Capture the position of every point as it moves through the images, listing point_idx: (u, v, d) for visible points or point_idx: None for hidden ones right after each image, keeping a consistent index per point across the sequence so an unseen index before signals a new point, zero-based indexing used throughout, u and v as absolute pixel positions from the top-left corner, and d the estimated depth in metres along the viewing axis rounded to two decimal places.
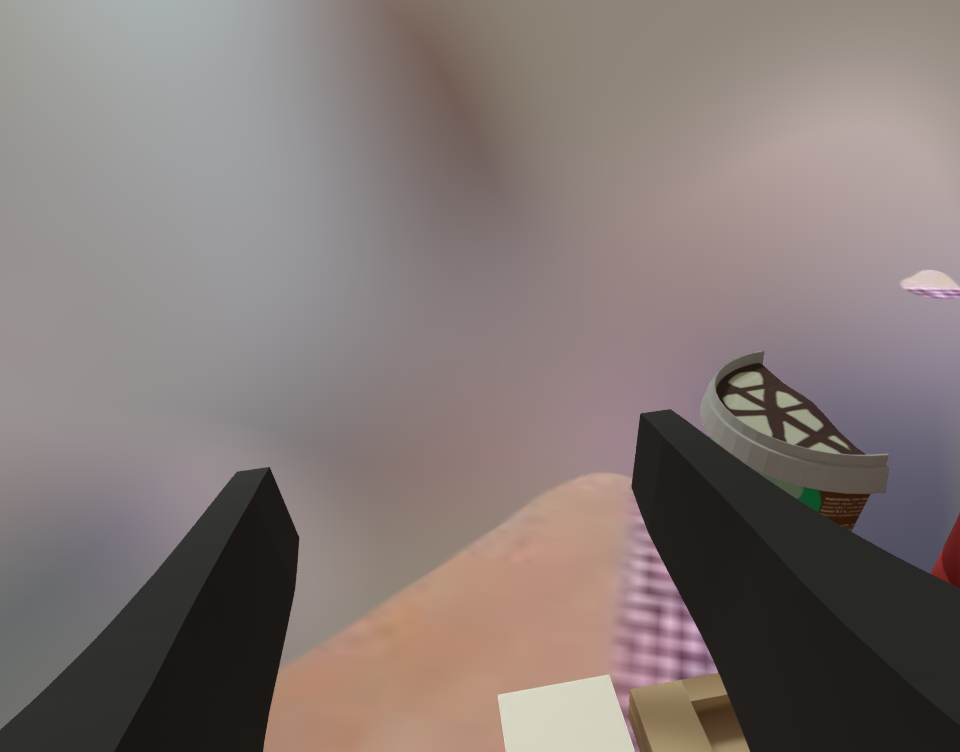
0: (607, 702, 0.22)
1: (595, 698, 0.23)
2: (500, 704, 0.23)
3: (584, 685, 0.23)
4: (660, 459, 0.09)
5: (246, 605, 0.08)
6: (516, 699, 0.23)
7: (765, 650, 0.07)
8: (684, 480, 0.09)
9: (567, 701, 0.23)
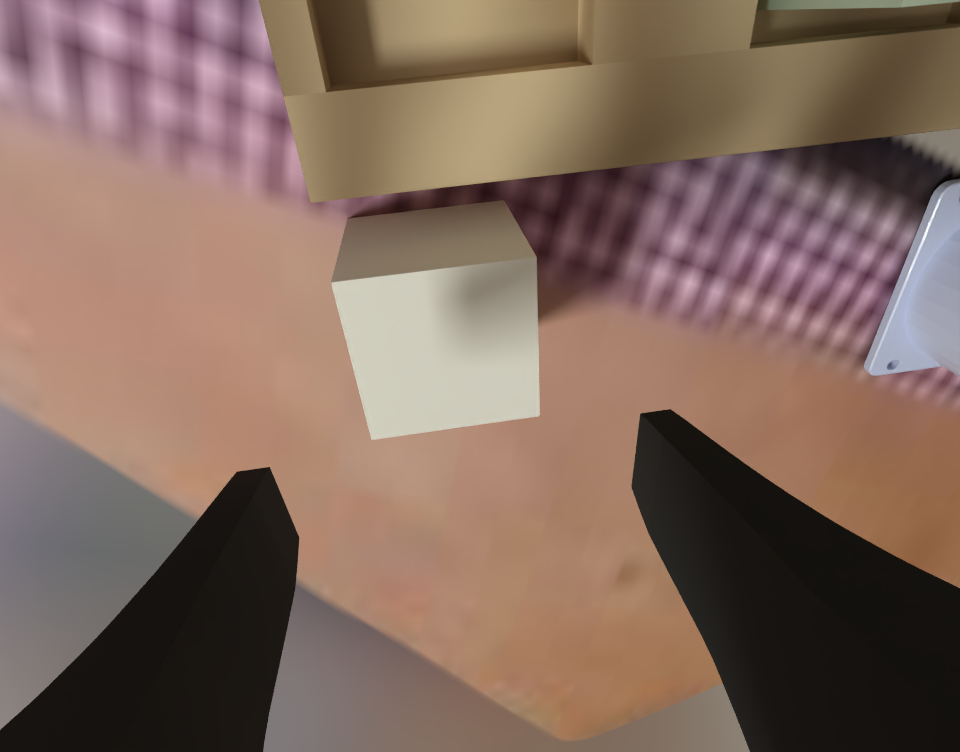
0: (381, 294, 0.13)
1: (375, 310, 0.13)
2: (385, 436, 0.15)
3: (353, 324, 0.13)
4: (660, 459, 0.09)
5: (246, 605, 0.08)
6: (378, 417, 0.15)
7: (765, 650, 0.07)
8: (684, 480, 0.09)
9: (380, 352, 0.14)
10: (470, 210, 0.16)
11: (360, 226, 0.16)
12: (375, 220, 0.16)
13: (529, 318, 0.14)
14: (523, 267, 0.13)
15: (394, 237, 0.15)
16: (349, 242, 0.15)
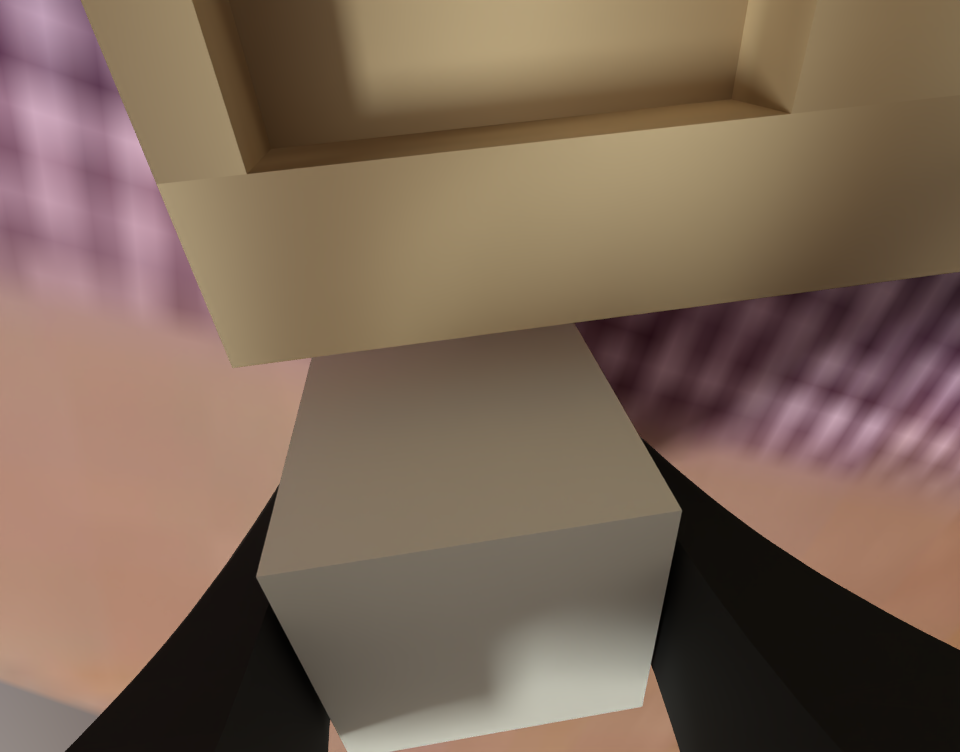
0: (363, 584, 0.06)
1: (351, 609, 0.07)
2: None
3: (307, 631, 0.07)
4: None
5: None
6: (361, 734, 0.08)
7: (691, 663, 0.07)
8: None
9: (363, 660, 0.07)
10: (519, 342, 0.10)
11: (333, 377, 0.09)
12: (359, 361, 0.10)
13: (649, 596, 0.07)
14: (652, 527, 0.06)
15: (390, 415, 0.08)
16: (309, 425, 0.08)
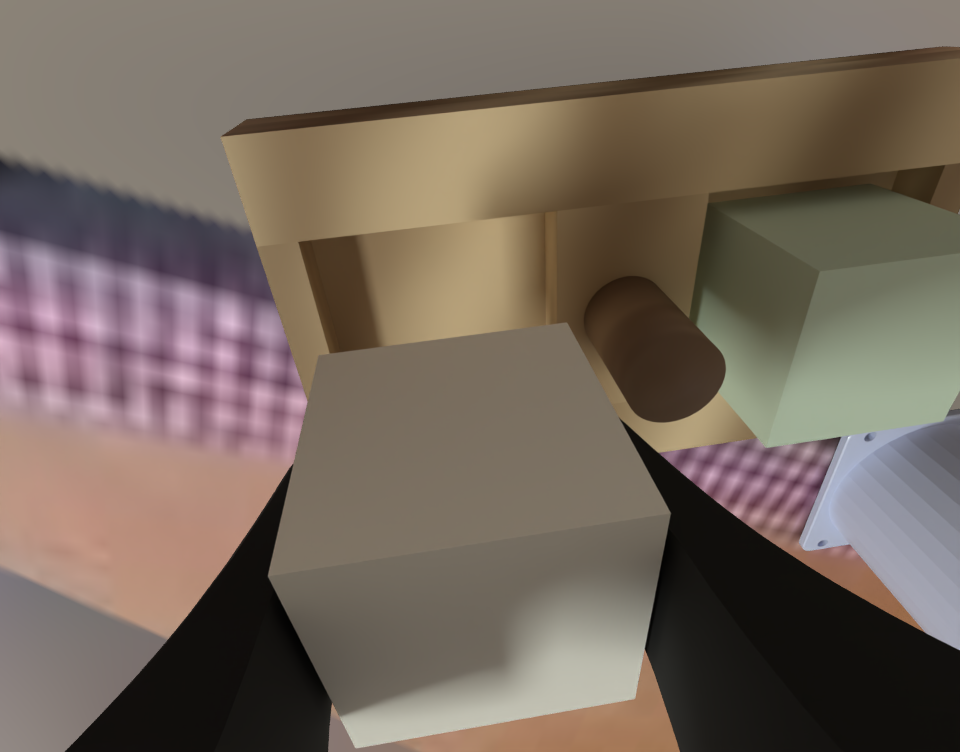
0: (369, 584, 0.07)
1: (357, 606, 0.07)
2: (379, 742, 0.09)
3: (316, 627, 0.07)
4: None
5: None
6: (366, 725, 0.09)
7: (691, 663, 0.07)
8: None
9: (368, 654, 0.08)
10: (517, 348, 0.10)
11: (338, 383, 0.10)
12: (362, 366, 0.10)
13: (641, 594, 0.08)
14: (643, 529, 0.07)
15: (394, 421, 0.09)
16: (315, 430, 0.09)
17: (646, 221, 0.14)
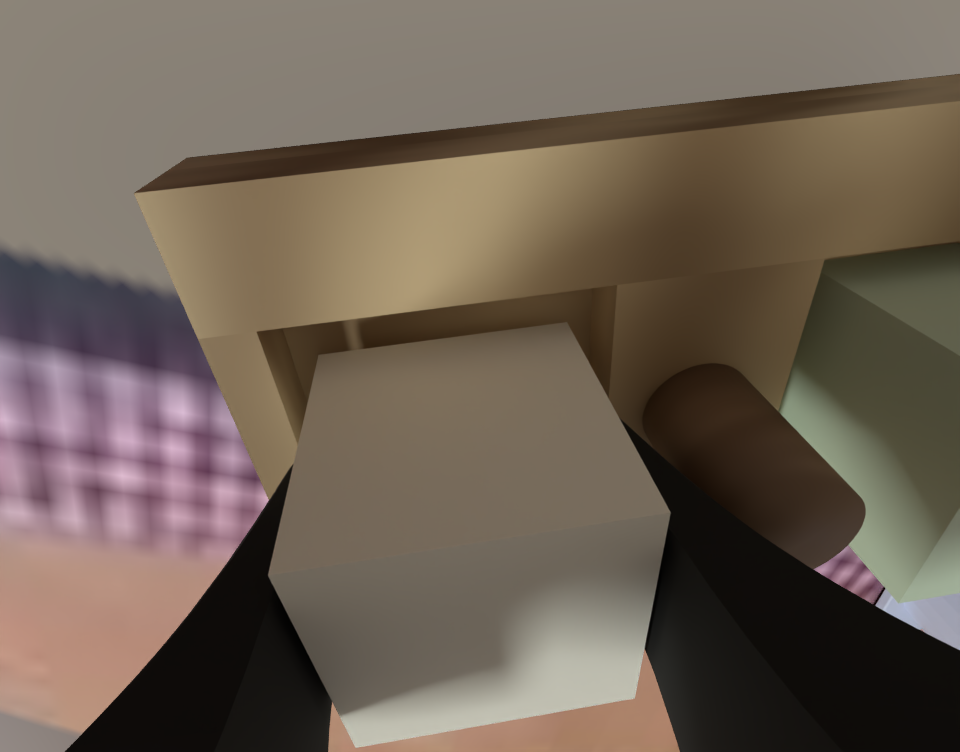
0: (369, 583, 0.07)
1: (357, 605, 0.07)
2: (379, 742, 0.09)
3: (316, 626, 0.07)
4: None
5: None
6: (366, 725, 0.09)
7: (691, 663, 0.07)
8: None
9: (368, 654, 0.08)
10: (517, 348, 0.10)
11: (338, 382, 0.10)
12: (362, 365, 0.10)
13: (640, 593, 0.08)
14: (642, 528, 0.07)
15: (394, 420, 0.09)
16: (315, 429, 0.09)
17: (736, 296, 0.10)
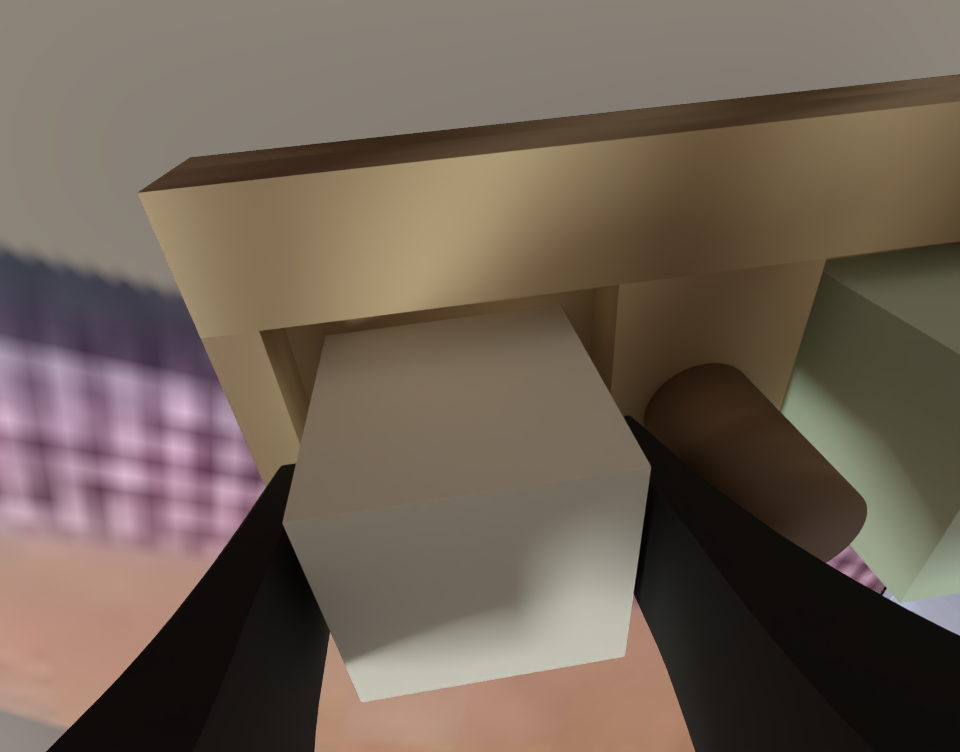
0: (374, 532, 0.07)
1: (363, 555, 0.08)
2: (383, 696, 0.10)
3: (325, 575, 0.08)
4: None
5: (299, 596, 0.08)
6: (371, 678, 0.09)
7: (708, 660, 0.07)
8: None
9: (373, 604, 0.08)
10: (512, 328, 0.11)
11: (344, 359, 0.10)
12: (367, 345, 0.11)
13: (626, 547, 0.08)
14: (625, 482, 0.07)
15: (397, 391, 0.09)
16: (323, 400, 0.09)
17: (738, 295, 0.10)
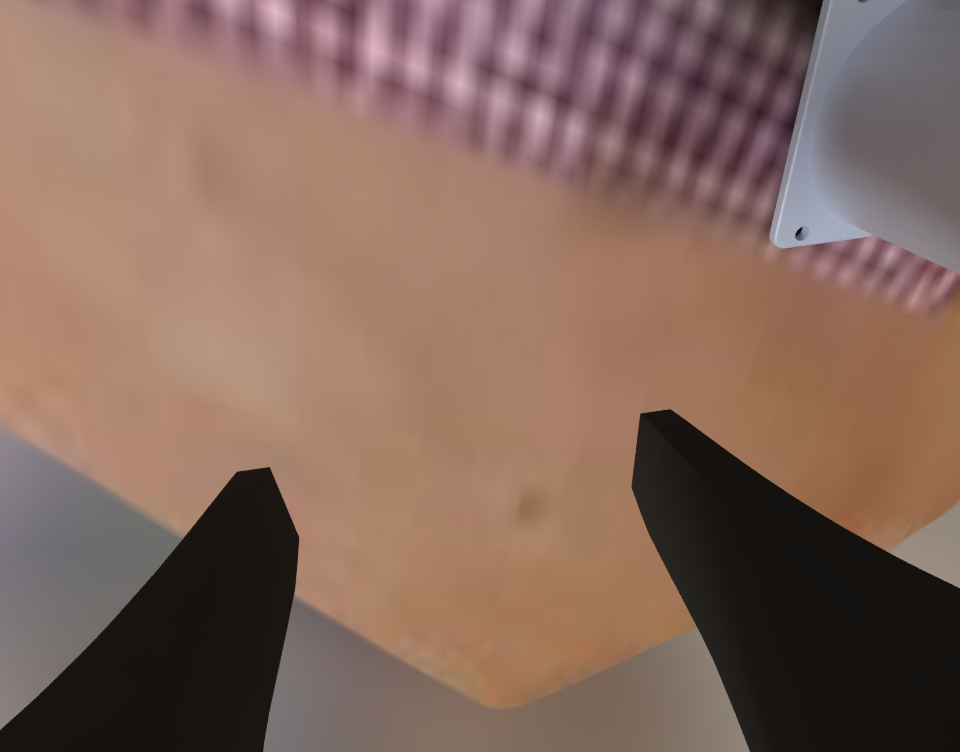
0: None
1: None
2: None
3: None
4: (660, 459, 0.09)
5: (246, 605, 0.08)
6: None
7: (765, 650, 0.07)
8: (684, 480, 0.09)
9: None
10: None
11: None
12: None
13: None
14: None
15: None
16: None
17: None
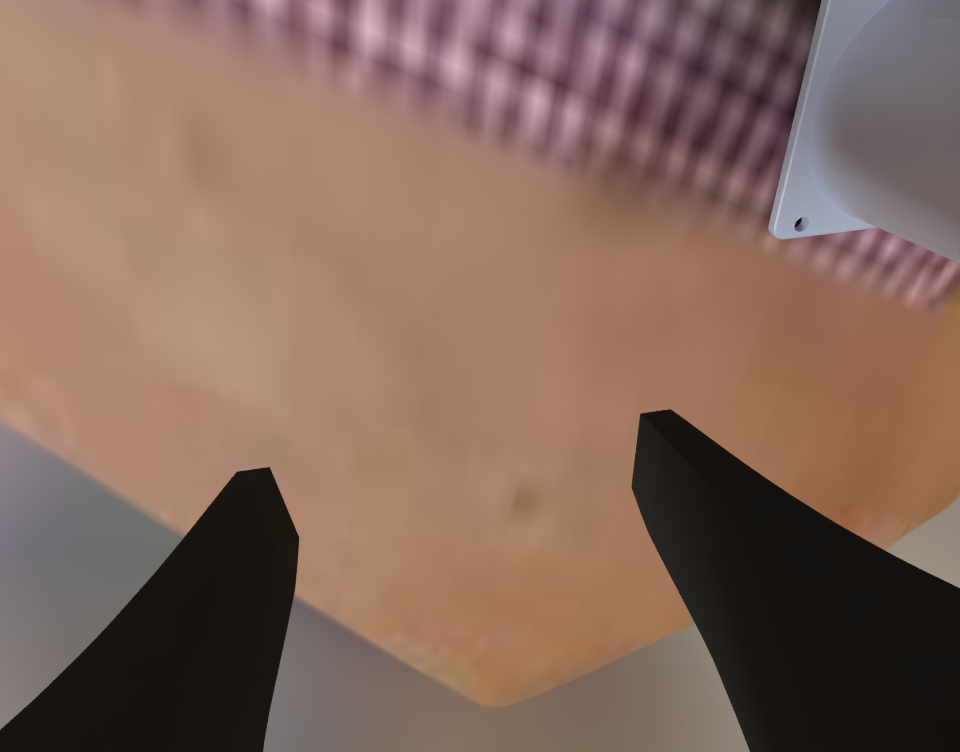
0: None
1: None
2: None
3: None
4: (660, 459, 0.09)
5: (246, 605, 0.08)
6: None
7: (765, 650, 0.07)
8: (684, 480, 0.09)
9: None
10: None
11: None
12: None
13: None
14: None
15: None
16: None
17: None
